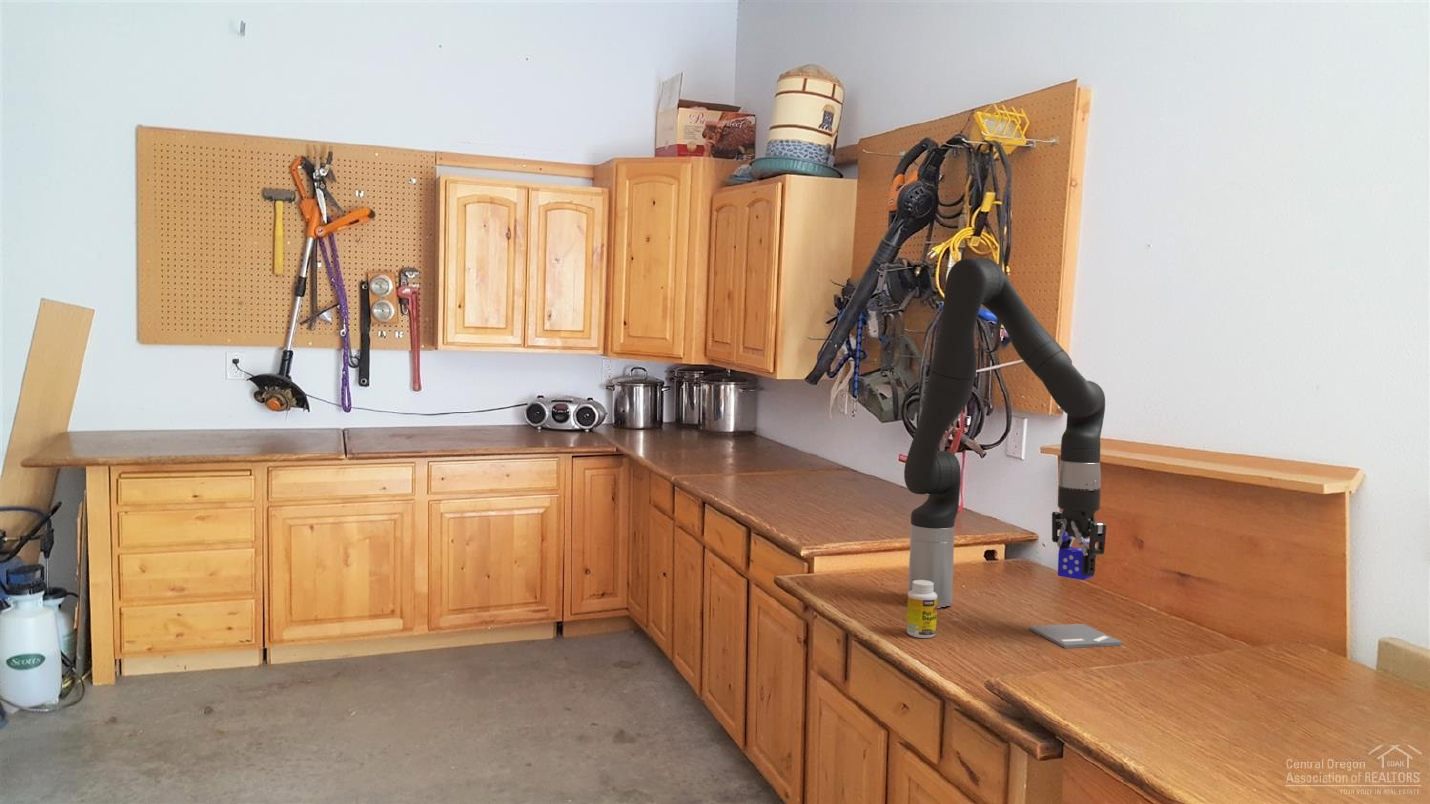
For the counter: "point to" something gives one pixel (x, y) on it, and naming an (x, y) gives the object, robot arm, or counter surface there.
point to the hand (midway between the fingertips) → (1076, 570)
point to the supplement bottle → (922, 610)
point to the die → (1071, 563)
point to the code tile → (1075, 635)
